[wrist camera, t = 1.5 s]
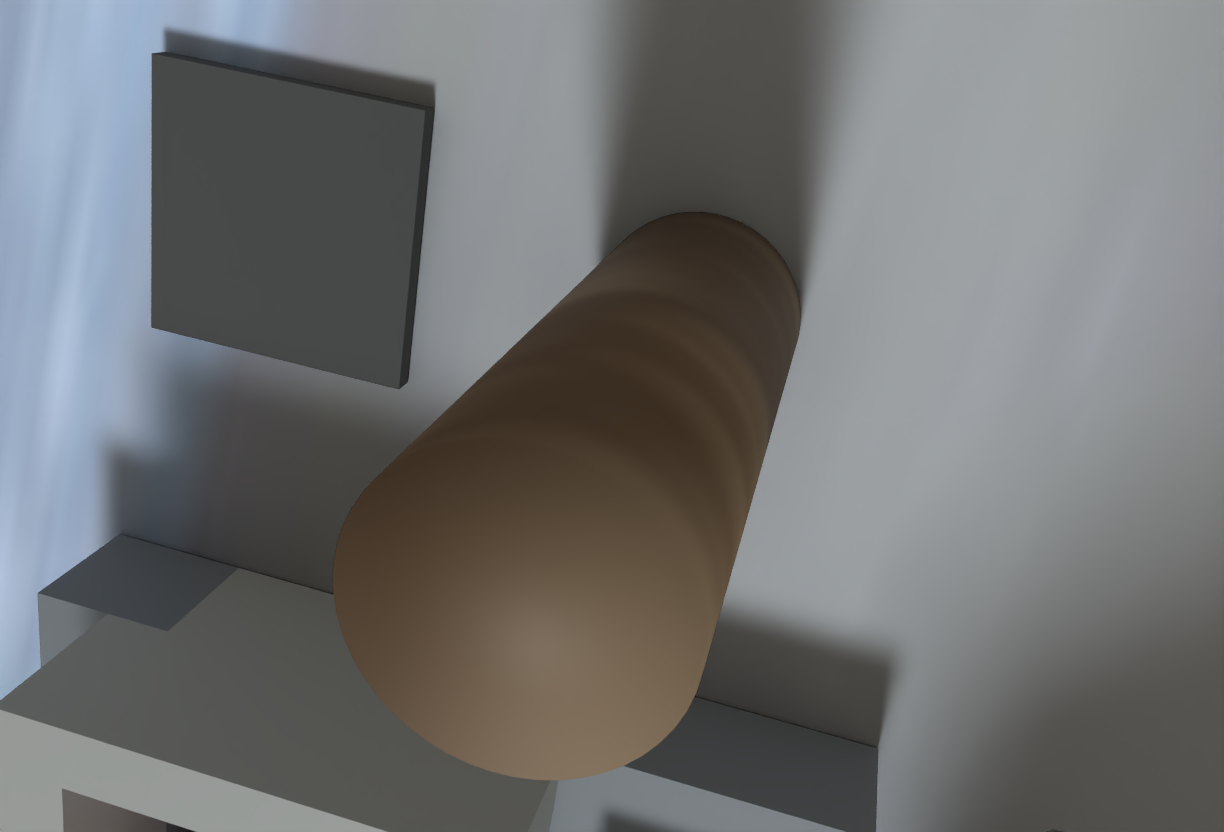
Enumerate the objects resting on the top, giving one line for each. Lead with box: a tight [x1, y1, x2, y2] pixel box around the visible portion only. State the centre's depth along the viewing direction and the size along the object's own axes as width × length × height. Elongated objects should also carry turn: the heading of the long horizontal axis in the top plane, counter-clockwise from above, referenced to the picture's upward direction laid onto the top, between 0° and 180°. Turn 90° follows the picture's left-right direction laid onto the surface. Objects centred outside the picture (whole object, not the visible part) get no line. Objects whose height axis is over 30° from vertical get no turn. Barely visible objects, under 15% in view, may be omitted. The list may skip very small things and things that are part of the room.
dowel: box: [333, 212, 801, 780], centre depth 15 cm, size 4×4×10 cm
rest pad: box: [151, 52, 434, 389], centre depth 20 cm, size 5×5×1 cm
